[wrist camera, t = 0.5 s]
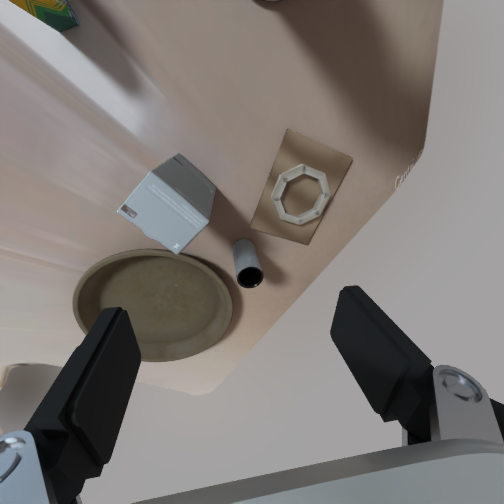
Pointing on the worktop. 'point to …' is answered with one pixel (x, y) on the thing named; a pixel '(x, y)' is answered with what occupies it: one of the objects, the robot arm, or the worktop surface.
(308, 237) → the tan board with ring
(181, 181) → the skincare box
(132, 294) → the plant saucer
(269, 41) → the worktop surface
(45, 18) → the crayon box
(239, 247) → the grey tube
